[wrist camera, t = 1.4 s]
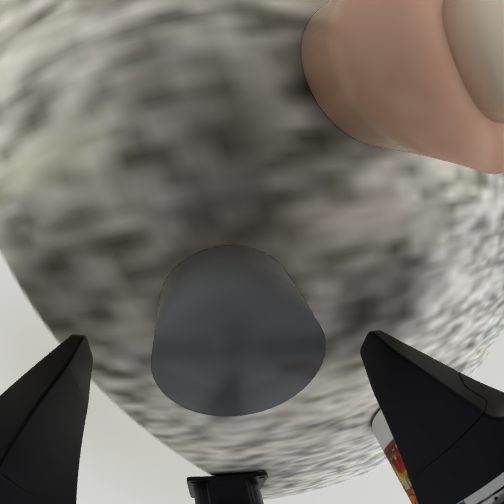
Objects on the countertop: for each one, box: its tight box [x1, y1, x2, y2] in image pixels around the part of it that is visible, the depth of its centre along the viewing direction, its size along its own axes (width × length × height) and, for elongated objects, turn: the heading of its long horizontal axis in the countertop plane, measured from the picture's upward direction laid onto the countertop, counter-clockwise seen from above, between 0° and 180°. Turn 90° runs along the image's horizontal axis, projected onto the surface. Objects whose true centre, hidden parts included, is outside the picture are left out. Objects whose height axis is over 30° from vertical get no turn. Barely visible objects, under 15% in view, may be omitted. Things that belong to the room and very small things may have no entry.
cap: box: [151, 245, 326, 416], centre depth 8 cm, size 5×5×3 cm
